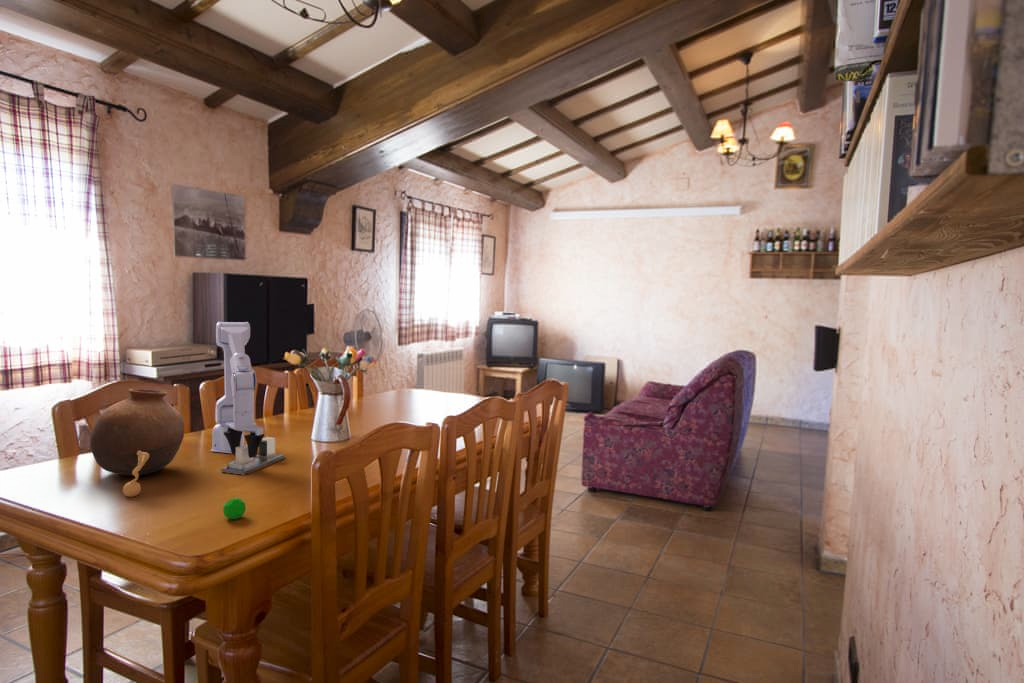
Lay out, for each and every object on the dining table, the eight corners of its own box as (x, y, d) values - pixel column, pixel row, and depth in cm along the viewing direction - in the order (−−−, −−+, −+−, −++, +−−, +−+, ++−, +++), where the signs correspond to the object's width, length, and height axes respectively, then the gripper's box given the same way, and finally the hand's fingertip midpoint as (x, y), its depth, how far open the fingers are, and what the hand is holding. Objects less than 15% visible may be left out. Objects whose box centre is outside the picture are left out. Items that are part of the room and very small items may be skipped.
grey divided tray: (221, 472, 179) (221, 449, 179) (264, 455, 198) (264, 434, 198) (244, 475, 177) (244, 452, 177) (285, 457, 197) (285, 436, 196)
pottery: (73, 483, 165) (70, 394, 163) (129, 460, 188) (127, 381, 186) (154, 487, 165) (153, 397, 163) (200, 463, 188) (199, 384, 186)
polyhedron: (235, 523, 141) (235, 503, 141) (218, 520, 143) (218, 501, 142) (250, 516, 146) (250, 496, 146) (233, 513, 147) (233, 494, 147)
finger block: (235, 466, 182) (235, 447, 182) (248, 463, 186) (248, 444, 185) (242, 468, 181) (242, 448, 180) (254, 464, 184) (254, 445, 184)
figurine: (124, 492, 160) (123, 448, 159) (150, 489, 162) (150, 446, 161) (121, 502, 152) (120, 456, 151) (149, 499, 155) (148, 453, 154)
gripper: (271, 411, 182) (271, 455, 183) (239, 406, 188) (239, 448, 189) (251, 415, 176) (251, 461, 177) (218, 409, 182) (219, 453, 183)
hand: (244, 455), depth 183 cm, fingers open, 7 cm apart
